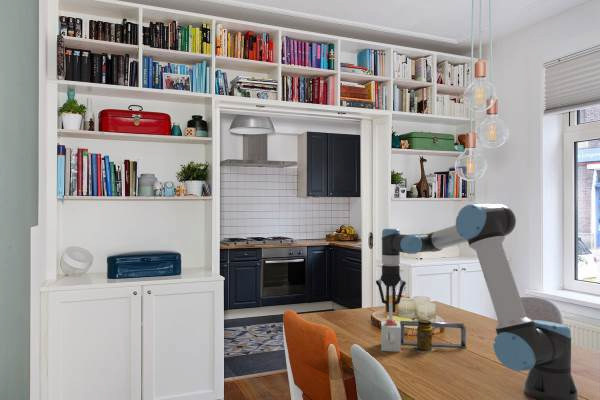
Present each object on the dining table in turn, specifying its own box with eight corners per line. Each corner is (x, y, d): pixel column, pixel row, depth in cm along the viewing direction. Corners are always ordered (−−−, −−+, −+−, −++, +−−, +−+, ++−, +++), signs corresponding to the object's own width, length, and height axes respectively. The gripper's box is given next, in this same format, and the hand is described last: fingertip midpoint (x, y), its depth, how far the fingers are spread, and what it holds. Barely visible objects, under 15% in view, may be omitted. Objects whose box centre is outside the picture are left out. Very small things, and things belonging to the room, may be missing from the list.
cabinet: (400, 352, 197) (400, 328, 197) (381, 351, 199) (381, 327, 199) (399, 344, 208) (399, 321, 208) (381, 343, 209) (381, 321, 209)
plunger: (395, 342, 201) (395, 321, 202) (386, 342, 202) (386, 321, 202) (394, 340, 205) (394, 319, 205) (386, 340, 206) (386, 319, 206)
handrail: (465, 345, 206) (465, 322, 207) (466, 347, 204) (466, 324, 204) (399, 342, 211) (399, 319, 211) (399, 344, 208) (399, 321, 208)
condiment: (436, 350, 200) (436, 321, 201) (422, 353, 196) (422, 324, 196) (422, 345, 207) (422, 318, 207) (409, 349, 202) (409, 320, 202)
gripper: (405, 264, 207) (405, 318, 206) (375, 263, 209) (375, 317, 208) (406, 266, 199) (406, 322, 199) (375, 265, 201) (375, 321, 201)
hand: (390, 319), depth 204 cm, fingers closed
